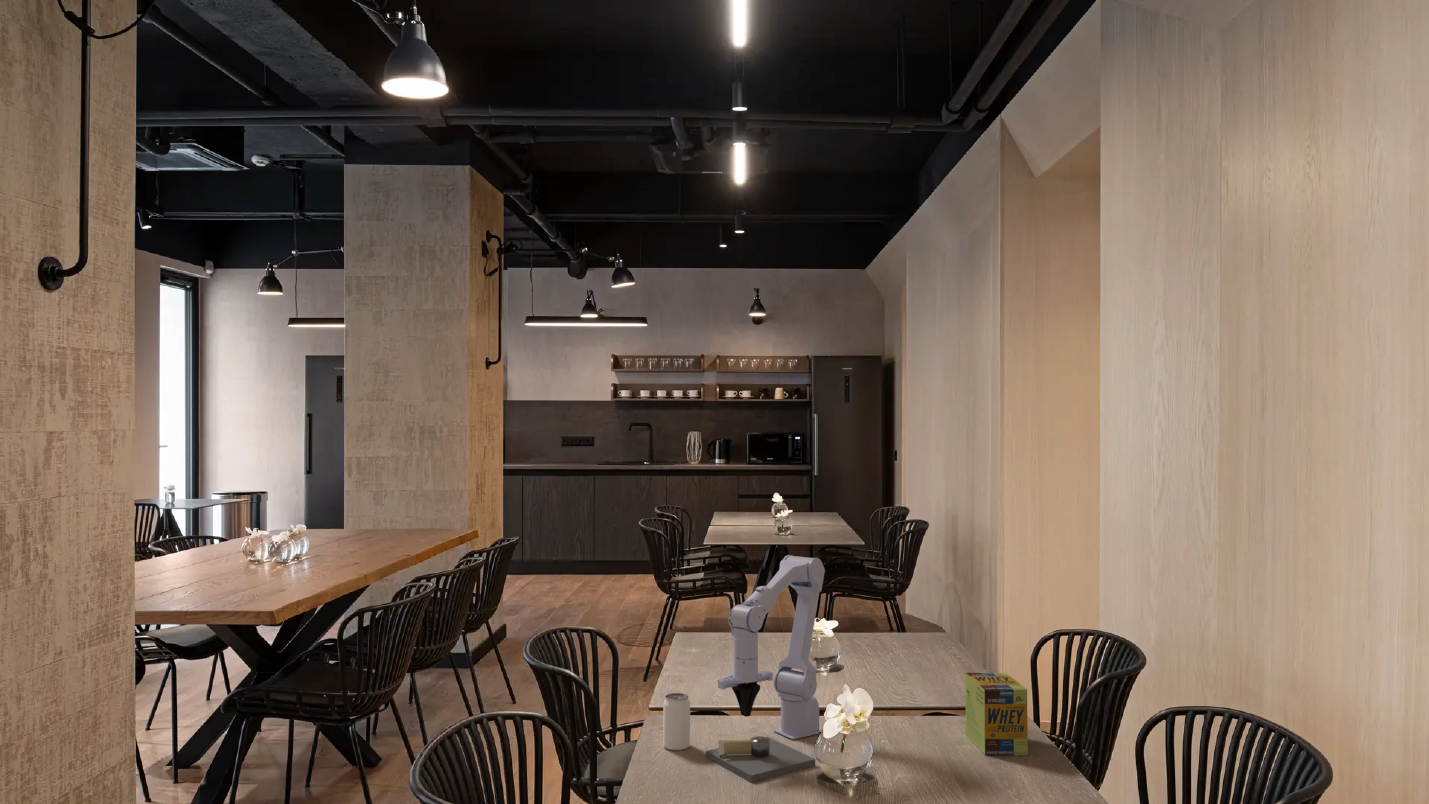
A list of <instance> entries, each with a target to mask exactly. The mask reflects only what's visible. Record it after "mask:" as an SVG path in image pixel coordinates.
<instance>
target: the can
mask: <svg viewBox="0 0 1429 804" xmlns="http://www.w3.org/2000/svg"><path fill="white" fill-rule="evenodd" d="M664 697H665V698H664V701H663V706H662V707H663V709H662V710H663V711H662V717H663V718H662V723H663V724H662V726H663V727H662V729H663V730H662V737H663V739H662V740H663V741H662V744H663V747H664V749H666V750H668V751H672V752H679V751H685V750H687V749H688V748H689V747H690V746H691V745H690V743H691V702H690V699H689V695H688V694H686V693H683V692H672V693H668V694H666V695H665V696H664Z"/></svg>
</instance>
